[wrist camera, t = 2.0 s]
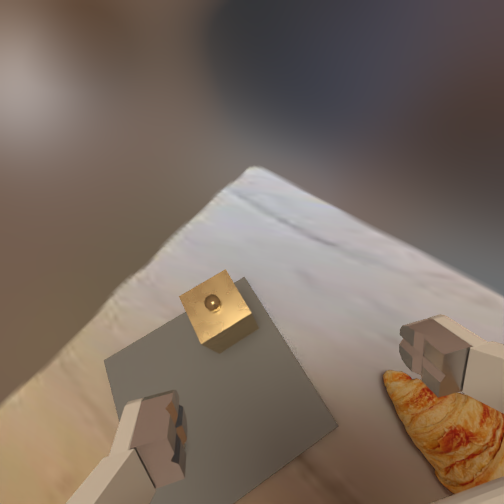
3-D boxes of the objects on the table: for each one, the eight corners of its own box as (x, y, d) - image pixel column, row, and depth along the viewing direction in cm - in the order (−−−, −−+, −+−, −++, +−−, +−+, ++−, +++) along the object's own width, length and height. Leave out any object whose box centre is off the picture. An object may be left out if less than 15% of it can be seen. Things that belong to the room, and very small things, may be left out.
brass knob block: (259, 328, 34) (250, 310, 26) (219, 353, 33) (197, 342, 25) (237, 292, 37) (223, 265, 29) (200, 314, 36) (175, 293, 28)
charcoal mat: (337, 425, 29) (338, 426, 28) (158, 556, 25) (155, 561, 25) (245, 278, 38) (244, 276, 38) (107, 361, 35) (103, 360, 34)
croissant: (359, 394, 33) (355, 426, 26) (408, 332, 31) (418, 348, 24) (566, 566, 24) (647, 689, 17) (648, 492, 22) (776, 592, 15)
